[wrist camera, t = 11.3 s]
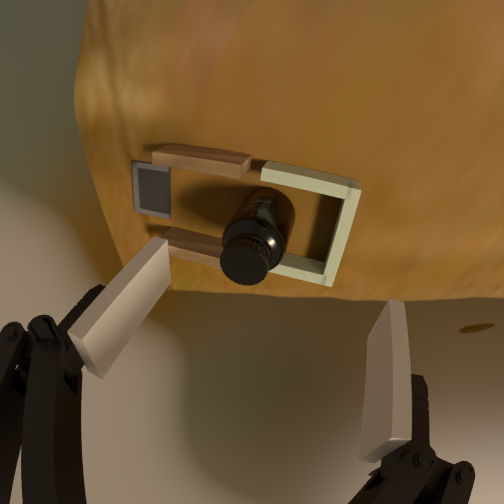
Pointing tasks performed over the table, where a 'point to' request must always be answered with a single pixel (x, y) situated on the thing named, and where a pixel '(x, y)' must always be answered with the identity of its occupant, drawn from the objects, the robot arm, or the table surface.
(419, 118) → the table surface
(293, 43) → the table surface
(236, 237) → the supplement bottle
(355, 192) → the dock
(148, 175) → the mat
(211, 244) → the channel
